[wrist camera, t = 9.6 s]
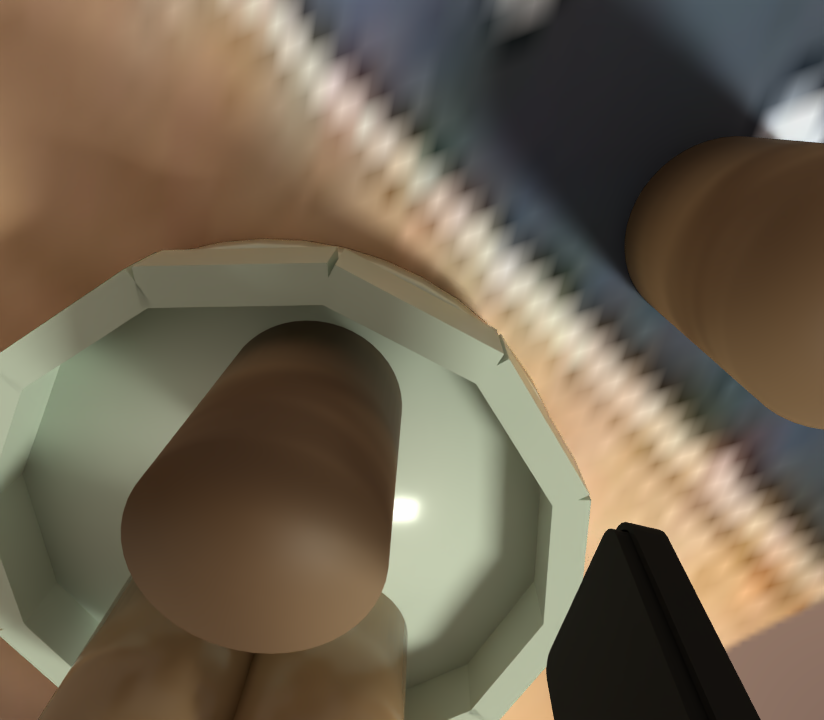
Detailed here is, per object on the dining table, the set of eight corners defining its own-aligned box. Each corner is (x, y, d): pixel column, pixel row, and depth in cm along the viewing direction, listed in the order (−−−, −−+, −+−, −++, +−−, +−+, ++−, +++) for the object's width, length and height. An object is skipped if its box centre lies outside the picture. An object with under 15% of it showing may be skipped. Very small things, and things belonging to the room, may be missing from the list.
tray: (373, 108, 12) (327, 108, 7) (649, 580, 17) (760, 815, 11) (-94, 422, 15) (-390, 600, 10) (244, 750, 20) (172, 1002, 14)
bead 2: (779, 95, 12) (999, 86, 7) (840, 265, 13) (1061, 349, 9) (593, 203, 13) (686, 256, 8) (667, 353, 14) (783, 472, 10)
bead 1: (420, 344, 13) (417, 472, 8) (381, 495, 15) (358, 674, 10) (237, 301, 13) (129, 408, 8) (215, 459, 14) (113, 626, 10)
